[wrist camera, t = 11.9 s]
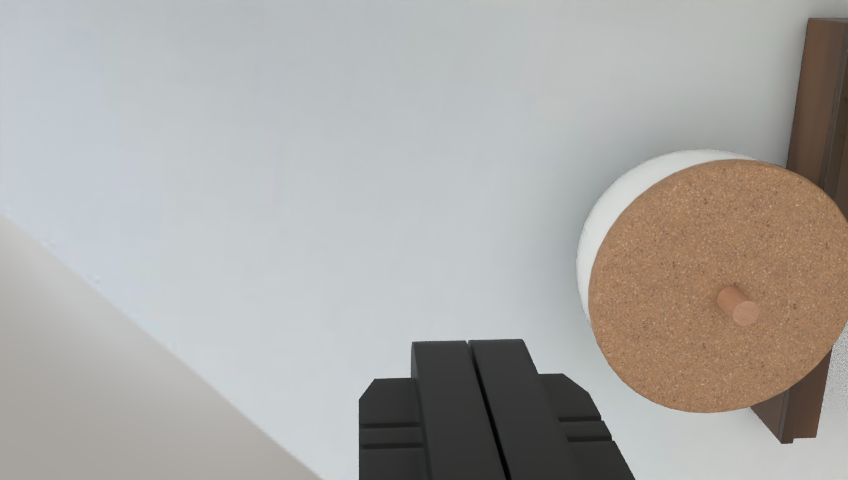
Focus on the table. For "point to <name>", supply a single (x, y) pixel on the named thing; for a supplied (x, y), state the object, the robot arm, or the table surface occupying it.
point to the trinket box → (713, 278)
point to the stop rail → (829, 170)
